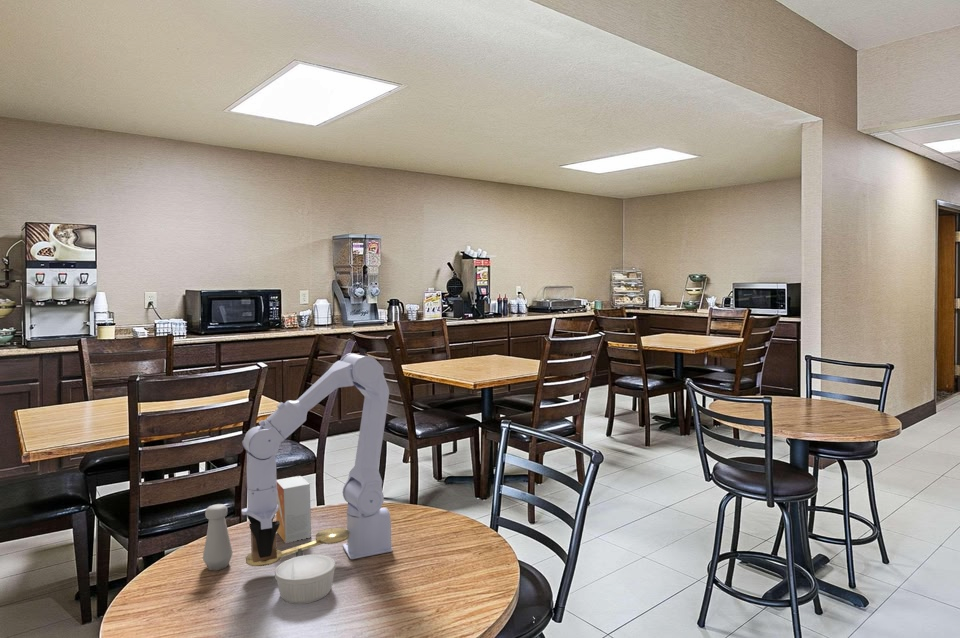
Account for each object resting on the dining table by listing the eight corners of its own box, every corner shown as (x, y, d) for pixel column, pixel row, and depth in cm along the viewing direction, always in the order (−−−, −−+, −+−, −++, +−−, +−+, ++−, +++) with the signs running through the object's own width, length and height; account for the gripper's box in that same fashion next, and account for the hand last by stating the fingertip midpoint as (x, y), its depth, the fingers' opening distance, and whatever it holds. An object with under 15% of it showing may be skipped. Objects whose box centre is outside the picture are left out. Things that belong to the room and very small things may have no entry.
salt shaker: (222, 573, 127) (219, 511, 126) (197, 571, 128) (195, 510, 127) (238, 561, 132) (236, 502, 132) (214, 559, 134) (212, 500, 133)
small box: (276, 532, 148) (274, 479, 148) (302, 527, 152) (301, 475, 151) (284, 544, 141) (283, 488, 141) (312, 538, 145) (310, 483, 144)
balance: (345, 552, 136) (345, 525, 136) (353, 565, 130) (352, 537, 130) (245, 571, 127) (244, 543, 127) (247, 586, 121) (246, 556, 121)
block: (274, 549, 128) (273, 526, 128) (276, 558, 124) (276, 533, 124) (251, 553, 127) (250, 530, 126) (253, 562, 122) (252, 537, 122)
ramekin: (263, 595, 118) (263, 568, 117) (313, 574, 126) (312, 549, 126) (297, 614, 111) (296, 585, 110) (347, 590, 119) (346, 564, 119)
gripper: (238, 479, 130) (240, 542, 130) (243, 499, 117) (245, 569, 117) (273, 474, 133) (275, 536, 133) (282, 494, 120) (284, 562, 120)
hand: (263, 551), depth 125 cm, fingers closed on block, 4 cm apart
